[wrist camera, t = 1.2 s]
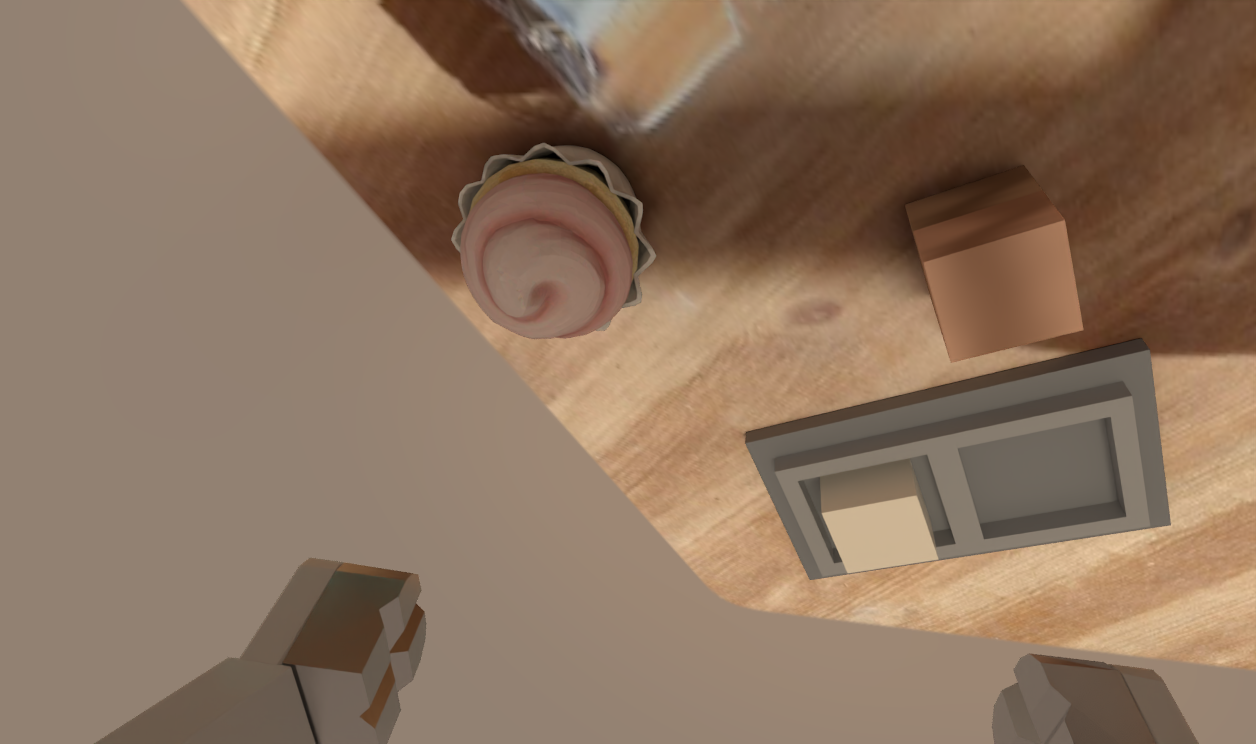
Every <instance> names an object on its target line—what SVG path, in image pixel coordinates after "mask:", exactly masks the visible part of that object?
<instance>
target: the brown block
mask: <svg viewBox="0 0 1256 744" xmlns="http://www.w3.org/2000/svg"><path fill="white" fill-rule="evenodd" d="M905 208H906V212H907V215H908V219H909V222H910V226H911V230H912V233H913V237H914V240H915V244H916V247H917V251H918V255H919V258H920V262H921V265H922V269H923V272H924V276H925V280H926V283H927V287H928V290H929V294H930V297H931V300H932V304H933V307H934V310H935V313H936V316H937V319H938V323H939V326H940V329H941V332H942V335H943V339H944V342H945V345H946V348H947V351H948V354H949V358H950V361H951V363H952V362H956V361H960V360H964V359H968V358H972V357H976V356H980V355H984V354H988V353H992V352H996V351H1001V350H1005V349H1009V348H1013V347H1017V346H1021V345H1025V344H1029V343H1033V342H1037V341H1041V340H1045V339H1049V338H1053V337H1057V336H1061V335H1065V334H1069V333H1073V332H1077V331H1081V330H1083V325H1082V319H1081V313H1080V307H1079V301H1078V295H1077V289H1076V283H1075V277H1074V271H1073V265H1072V259H1071V254H1070V248H1069V242H1068V236H1067V230H1066V224H1065V220H1064V218H1063V217H1062V216H1061V214H1060V213H1059V212H1058V210H1057V209H1056V208H1055V206H1054V205H1053V204H1052V202H1051V201H1050V200H1049V198H1048V197H1047V196H1046V194H1045V193H1044V192H1043V190H1042V189H1041V188H1040V186H1039V185H1038V184H1037V182H1036V181H1035V180H1034V178H1033V177H1032V176H1031V174H1030V173H1029V172H1028V170H1027V169H1026V168H1025V166H1024V165H1023V166H1020V167H1017V168H1014V169H1011V170H1008V171H1005V172H1002V173H999V174H996V175H993V176H990V177H987V178H984V179H981V180H978V181H975V182H972V183H969V184H966V185H963V186H960V187H957V188H954V189H951V190H948V191H945V192H942V193H939V194H936V195H933V196H930V197H927V198H924V199H921V200H918V201H915V202H912V203H909V204H906V205H905Z"/></svg>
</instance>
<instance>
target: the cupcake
mask: <svg viewBox="0 0 1256 744" xmlns="http://www.w3.org/2000/svg"><path fill="white" fill-rule="evenodd" d="M458 204H459V207H460V210H461V213H462V216H463V220H462V221H461V223H460V224H459V225H458V226H457V228H456V229H455V230H454V232H453V236H452V239H451V240H452V242H453V244H454V245H455V247H456V249H457V250H458V251H459V252H460V253H461V263H462V270H463V274H464V277H465V280H466V283H467V286H468V288H469V290H470V292H471V294H472V296H473V297H474V299H475V300H476V302H477V303H478V305H479V306H480V308H481V309H482V310H483V311H484V312H485V313H486V314H487V316H488V317H489V318H490V319H491V320H492V321H493V322H495V323H497V324H499V325H500V326H502V327H504V328H506V329H508V330H510V331H512V332H514V333H516V334H518V335H521V336H524V337H527V338H531V339H551V338H554V337H556V338H571V337H576V336H581V335H586V334H588V333H590V332H592V331H594V330H596V331H605V330H606V329H607V328H608V327H609V325H610V322H611V320H612V318H613V317H614V316H615V315H616V314H617V313H618V312H619V311H620V309H621V308H625V307H630V306H635V305H637V304H639V303H641V301H642V292H641V287H640V283H639V278H638V276H639V275H640V274H641V273H642V272H643V271H644V270H645V269H646V268H647V267H648V266H649V265H650V264H652V263H653V261H654V259H655V257H656V254H655V252H654V250H653V248H652V247H651V245H650V244H649V242H648V241H647V239H646V238H645V236H644V235H643V234H642V232H641V228H640V223H641V218H642V214H643V204H642V203H641V202H640V201H639V200H637V199H636V196H635V194H634V192H633V189H632V187H631V185H630V183H629V181H628V180H627V178H626V177H625V175H624V174H623V173H622V171H621V170H620V169H619V167H617V166H616V165H615V164H614V163H613V162H611V161H610V160H609V159H607V158H606V157H605V156H603V155H601V154H599V153H597V152H595V151H593V150H591V149H589V148H584V147H579V146H572V145H563V146H553V147H552V146H550V145H548V144H545V143H542V144H539V145H536V146H534V147H533V148H532V149H531V150H529V151H528V152H527V153H526V154H525V155H524V156H521V155H506V154H502V155H496V156H491V157H490V159H489V160H488V161H487V163H486V164H485V166H484V171H483V175H482V180H481V181H478V182H475V183H471V184H468V185H466V186H465V187H464V188H463V190H462V191H461V192H460V195H459V200H458Z"/></svg>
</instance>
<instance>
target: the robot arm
mask: <svg viewBox="0 0 1256 744" xmlns="http://www.w3.org/2000/svg"><path fill="white" fill-rule="evenodd" d="M420 592H421V586H420V581H419V576H418V574H413V573H407V572H401V571H394V570H388V569H382V568H376V567H369V566H363V565H357V564H351V563H344V562H338V561H330V560H323V559H316V558H309V559H308V560H306V561H305V562H304V563H303V564H301V565H300V566H299V567H298V569H297V570H296V572H295V573H294V575H293V576H292V578H291V579H290V581H289V582H288V584H287V586H286V587H285V589H284V590H283V592H282V593H281V595H280V596H279V598H278V599H277V601H276V603H275V604H274V606H273V607H272V609H271V610H270V612H269V613H268V615H267V616H266V618H265V620H264V621H263V623H262V624H261V626H260V627H259V629H258V630H257V632H256V634H255V635H254V637H253V638H252V640H251V641H250V643H249V644H248V646H247V647H246V649H245V651H244V652H243V654H242V655H241V657H240V658H239V659H238V658H227V659H225V660H224V661H222V662H221V663H219V664H217V665H216V666H214V667H213V668H211V669H210V670H208V671H207V672H205V673H204V674H202V675H200V676H199V677H197V678H196V679H194V680H192V681H191V682H189V683H188V684H186V685H185V686H183V687H182V688H180V689H179V690H177V691H175V692H174V693H172V694H171V695H169V696H167V697H166V698H165V699H163V700H162V701H160V702H158V703H157V704H155V705H153V706H152V707H150V708H149V709H147V710H146V711H144V712H143V713H141V714H140V715H138V716H136V717H135V718H133V719H132V720H130V721H129V722H127V723H125V724H124V725H122V726H121V727H119V728H118V729H116V730H114V731H113V732H111V733H110V734H108V735H107V736H105V737H104V738H102V739H100V740H99V741H98V742H96V743H94V744H387V743H388V740H389V738H390V735H391V733H392V730H393V727H394V725H395V723H396V721H397V718H398V716H399V713H400V711H401V709H400V703H399V698H398V691H399V690H401V689H402V688H403V687H405V686H406V685H407V684H408V683H410V682H411V681H412V680H413V678H414V676H415V673H416V670H417V668H418V665H419V663H420V660H421V656H422V651H423V647H424V643H425V635H426V619H425V612H424V611H423V610H422V609H421V608H420V607H419V606H418V605H417V604H416V602H417V600H418V597H419V595H420ZM1014 673H1015V676H1016V678H1017V681H1018V683H1016V684H1014V685H1012V686H1010V687H1008V688H1005V689H1004V690H1002V691H1001V693H1000V695H999V697H998V699H997V701H996V703H995V705H994V712H993V724H992V729H993V736H994V743H995V744H1199V743H1198V742H1197V740H1196V738H1195V736H1194V734H1193V733H1192V731H1191V729H1190V727H1189V725H1188V724H1187V722H1186V720H1185V718H1184V716H1183V715H1182V713H1181V711H1180V709H1179V708H1178V706H1177V704H1176V702H1175V701H1174V699H1173V697H1172V695H1171V693H1170V692H1169V690H1168V688H1167V686H1166V684H1165V683H1164V681H1163V680H1162V678H1161V677H1160V676H1159V675H1157V674H1156V673H1155V672H1154V671H1153V670H1150V669H1143V668H1135V667H1128V666H1120V665H1112V664H1106V663H1104V662H1095V661H1088V660H1079V659H1071V658H1062V657H1053V656H1045V655H1037V654H1027V655H1025V656H1024V657H1022V658H1020V660H1019V661H1018V663H1017V665H1016V667H1015V668H1014Z"/></svg>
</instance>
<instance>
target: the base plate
mask: <svg viewBox="0 0 1256 744" xmlns="http://www.w3.org/2000/svg"><path fill="white" fill-rule="evenodd" d="M745 444H746V446H747V448H748V450H749V452H750V454H751V457H752V459H753V461H754V463H755V465H756V467H757V469H758V471H759V474H760V476H761V478H762V480H763V482H764V484H765V486H766V488H767V490H768V493H769V495H770V497H771V499H772V501H773V503H774V505H775V507H776V510H777V512H778V514H779V516H780V518H781V520H782V522H783V524H784V526H785V529H786V531H787V533H788V535H789V537H790V539H791V541H792V543H793V546H794V548H795V550H796V552H797V554H798V556H799V558H800V560H801V563H802V565H803V567H804V569H805V571H806V573H807V575H808V577H809V579H810V580H814V579H820V578H827V577H833V576H840V575H847V574H853V573H860V572H866V571H873V570H879V569H886V568H893V567H899V566H906V565H912V564H919V563H925V562H932V561H939V560H945V559H952V558H958V557H965V556H971V555H978V554H985V553H991V552H998V551H1004V550H1011V549H1017V548H1024V547H1031V546H1037V545H1044V544H1050V543H1057V542H1063V541H1070V540H1077V539H1083V538H1090V537H1096V536H1103V535H1109V534H1116V533H1123V532H1129V531H1136V530H1142V529H1149V528H1155V527H1162V526H1169V525H1171V522H1170V514H1169V506H1168V497H1167V489H1166V481H1165V472H1164V464H1163V455H1162V447H1161V439H1160V430H1159V422H1158V414H1157V405H1156V397H1155V389H1154V380H1153V372H1152V364H1151V355H1150V349H1149V348H1148V346H1147V345H1146V344H1145V342H1144V341H1143V340H1142V338H1141V339H1137V340H1132V341H1128V342H1124V343H1120V344H1116V345H1111V346H1107V347H1103V348H1099V349H1095V350H1090V351H1086V352H1082V353H1078V354H1074V355H1069V356H1065V357H1061V358H1057V359H1053V360H1048V361H1044V362H1040V363H1036V364H1032V365H1027V366H1023V367H1019V368H1015V369H1011V370H1006V371H1002V372H998V373H994V374H989V375H985V376H981V377H977V378H973V379H968V380H964V381H960V382H956V383H952V384H947V385H943V386H939V387H935V388H931V389H926V390H922V391H918V392H914V393H910V394H905V395H901V396H897V397H893V398H889V399H884V400H880V401H876V402H872V403H868V404H863V405H859V406H855V407H851V408H847V409H842V410H838V411H834V412H830V413H826V414H821V415H817V416H813V417H809V418H805V419H800V420H796V421H792V422H788V423H784V424H779V425H775V426H771V427H767V428H763V429H758V430H754V431H750V432H746V441H745Z"/></svg>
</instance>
